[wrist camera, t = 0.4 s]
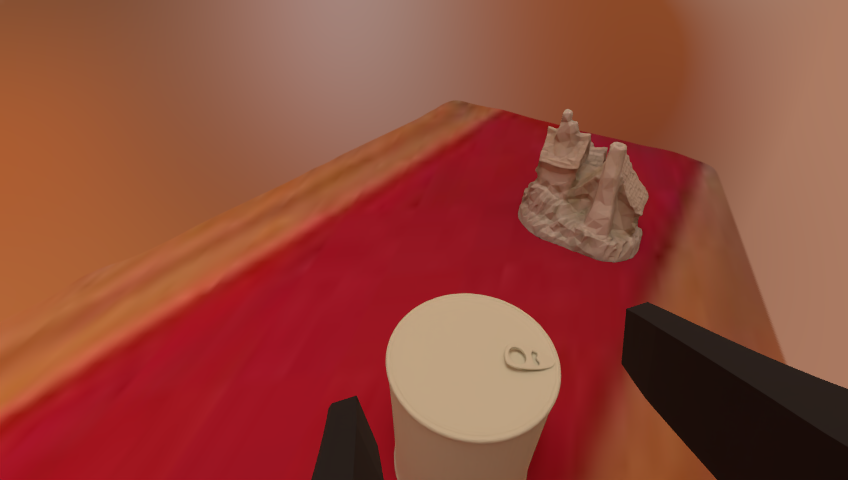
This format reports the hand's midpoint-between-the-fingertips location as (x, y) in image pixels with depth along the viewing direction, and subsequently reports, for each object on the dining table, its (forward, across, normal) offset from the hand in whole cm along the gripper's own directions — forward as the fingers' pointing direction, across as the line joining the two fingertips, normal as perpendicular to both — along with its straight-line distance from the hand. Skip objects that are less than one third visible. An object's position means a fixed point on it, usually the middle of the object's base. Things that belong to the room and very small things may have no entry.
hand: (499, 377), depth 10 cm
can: (+10, +1, +19) cm, 21 cm away
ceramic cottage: (+35, -24, +19) cm, 46 cm away
